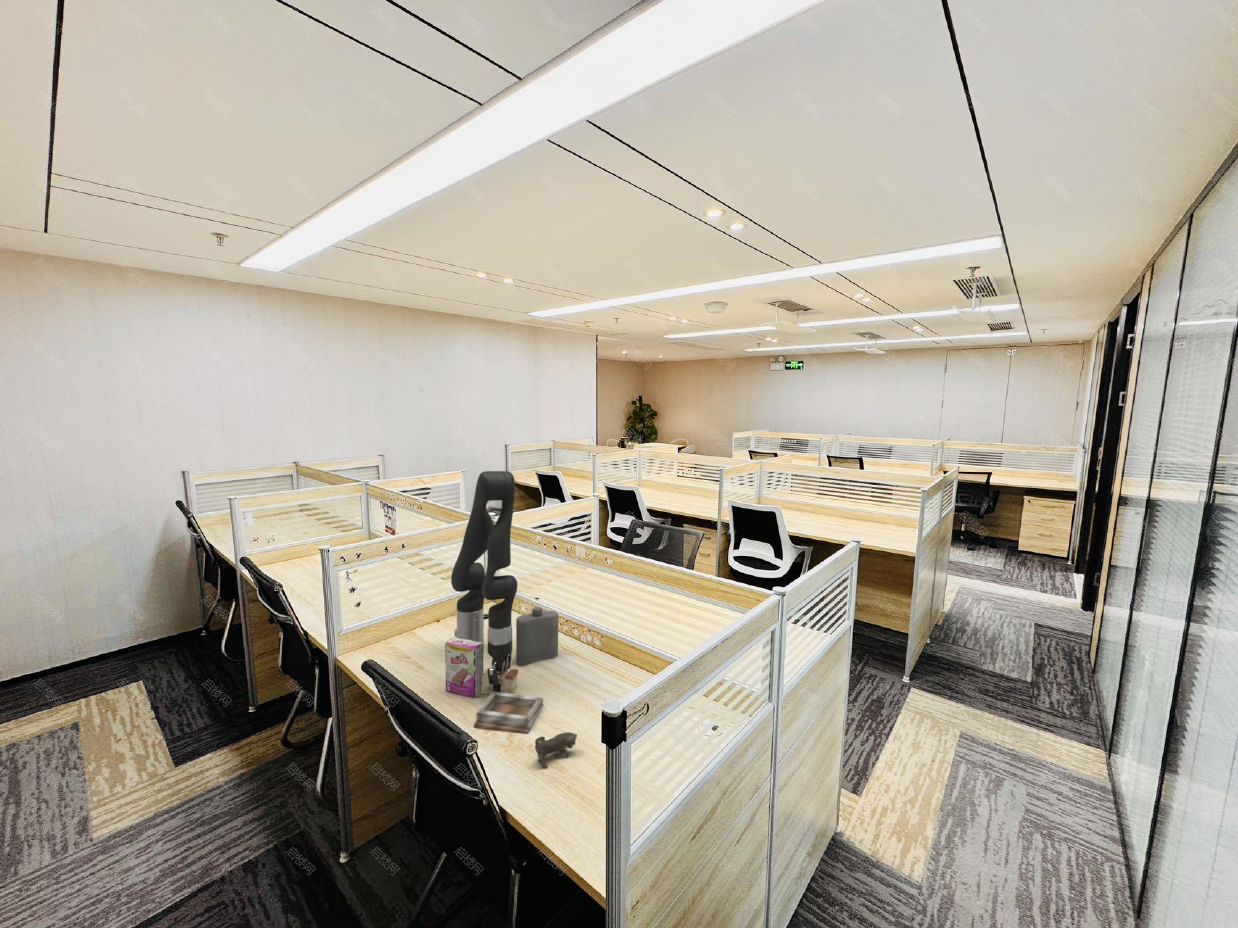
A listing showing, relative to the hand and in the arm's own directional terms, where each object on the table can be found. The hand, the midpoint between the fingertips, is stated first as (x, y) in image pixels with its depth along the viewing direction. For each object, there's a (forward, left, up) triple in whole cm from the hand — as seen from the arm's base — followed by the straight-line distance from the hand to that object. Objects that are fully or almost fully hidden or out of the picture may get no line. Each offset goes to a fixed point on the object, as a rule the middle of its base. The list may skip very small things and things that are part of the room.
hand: (500, 689), depth 160 cm
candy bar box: (-11, -2, -1) cm, 11 cm away
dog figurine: (+26, -25, -1) cm, 36 cm away
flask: (+5, +20, -1) cm, 21 cm away
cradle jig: (+8, -11, -1) cm, 14 cm away
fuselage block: (0, 0, -1) cm, 1 cm away
